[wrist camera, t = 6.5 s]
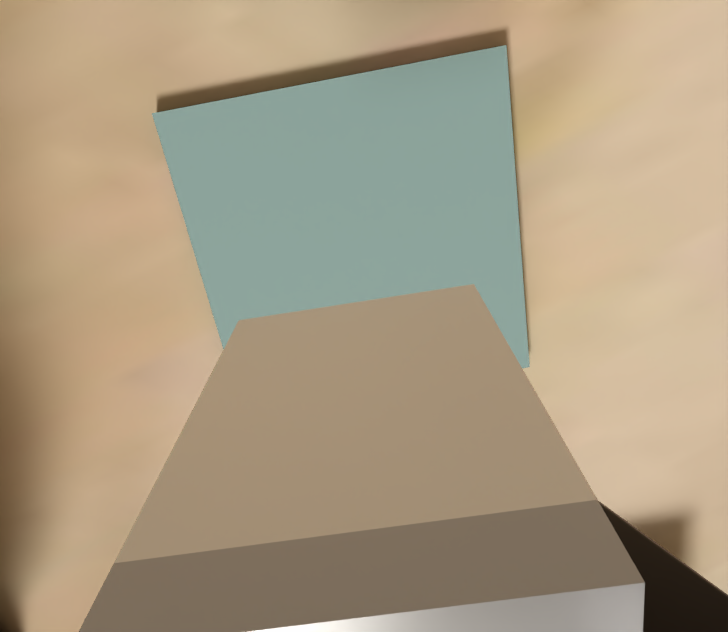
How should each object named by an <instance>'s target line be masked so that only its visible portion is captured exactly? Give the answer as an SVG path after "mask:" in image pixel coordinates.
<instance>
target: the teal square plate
mask: <svg viewBox="0 0 728 632" xmlns="http://www.w3.org/2000/svg"><path fill="white" fill-rule="evenodd" d="M152 115H153V118H154V122H155V125H156V128H157V132H158V135H159V138H160V141H161V145H162V148H163V151H164V155H165V158H166V161H167V164H168V168H169V171H170V174H171V178H172V181H173V184H174V188H175V191H176V194H177V197H178V201H179V204H180V207H181V211H182V214H183V217H184V220H185V224H186V227H187V230H188V234H189V237H190V240H191V244H192V247H193V250H194V253H195V257H196V260H197V263H198V267H199V270H200V273H201V276H202V280H203V283H204V286H205V290H206V293H207V296H208V300H209V303H210V306H211V309H212V313H213V316H214V319H215V323H216V326H217V329H218V332H219V336H220V339H221V342H222V346H223V349H224V348H225V346H226V344H227V342H228V340H229V338H230V336H231V334H232V332H233V330H234V328H235V327H236V325H237V323H238V321H239V320H244V319H250V318H257V317H263V316H270V315H276V314H283V313H289V312H296V311H302V310H309V309H315V308H322V307H328V306H335V305H341V304H347V303H354V302H360V301H367V300H373V299H380V298H386V297H393V296H399V295H406V294H412V293H419V292H425V291H432V290H438V289H445V288H451V287H458V286H464V285H471V284H474V285H475V287H476V289H477V291H478V292H479V294H480V296H481V298H482V299H483V301H484V303H485V305H486V306H487V308H488V310H489V311H490V313H491V315H492V317H493V318H494V320H495V322H496V324H497V325H498V327H499V329H500V331H501V332H502V334H503V336H504V338H505V339H506V341H507V343H508V345H509V346H510V348H511V350H512V352H513V353H514V355H515V357H516V359H517V360H518V362H519V364H520V366H521V367H522V368H527V367H529V353H528V339H527V325H526V311H525V298H524V284H523V270H522V256H521V242H520V228H519V214H518V200H517V186H516V172H515V158H514V144H513V130H512V116H511V102H510V88H509V75H508V61H507V47H506V45H504V46H499V47H493V48H488V49H483V50H478V51H473V52H468V53H462V54H457V55H452V56H447V57H442V58H437V59H431V60H426V61H421V62H416V63H411V64H406V65H400V66H395V67H390V68H385V69H380V70H374V71H369V72H364V73H359V74H354V75H349V76H343V77H338V78H333V79H328V80H323V81H318V82H312V83H307V84H302V85H297V86H292V87H286V88H281V89H276V90H271V91H266V92H261V93H255V94H250V95H245V96H240V97H235V98H230V99H224V100H219V101H214V102H209V103H204V104H199V105H193V106H188V107H183V108H178V109H173V110H167V111H162V112H157V113H152Z"/></svg>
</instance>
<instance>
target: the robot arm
mask: <svg viewBox="0 0 728 632" xmlns="http://www.w3.org/2000/svg"><path fill="white" fill-rule="evenodd" d="M598 502H599V501H598ZM599 503H600V505H601V507H602V509H603V510H604V512H605V514H606V516H607V517H608V519H609V521H610V523H611V524H612V526H613V528H614V529H615V531H616V533H617V535H618V536H619V538H620V540H621V542H622V543H623V545H624V547H625V549H626V550H627V552H628V554H629V556H630V557H631V559H632V561H633V563H634V564H635V566H636V568H637V570H638V571H639V573H640V575H641V577H642V578H643V580H644V582H645V595H644V618H643V632H728V595H727V594H726V593H724V592H723V591H722V590H720V589H719V588H718V587H716V586H715V585H713V584H712V583H711V582H709V581H708V580H707V579H705V578H704V577H702V576H701V575H700V574H698V573H697V572H696V571H694V570H693V569H691V568H690V567H689V566H687V565H686V564H685V563H683V562H682V561H680V560H679V559H678V558H676V557H675V556H674V555H672V554H671V553H669V552H668V551H667V550H665V549H664V548H663V547H661V546H660V545H658V544H657V543H656V542H654V541H653V540H652V539H650V538H649V537H647V536H646V535H645V534H643V533H642V532H640V531H639V530H638V529H636V528H635V527H634V526H632V525H631V524H629V523H628V522H627V521H625V520H624V519H623V518H621V517H620V516H618V515H617V514H616V513H614V512H613V511H612V510H610V509H609V508H607V507H606V506H605V505H603V504H602V503H601V502H599Z"/></svg>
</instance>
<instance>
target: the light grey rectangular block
mask: <svg viewBox="0 0 728 632" xmlns="http://www.w3.org/2000/svg"><path fill="white" fill-rule="evenodd" d="M644 595H645V582H644V580H643V578H642V577H641V575H640V573H639V571H638V570H637V568H636V566H635V564H634V563H633V561H632V559H631V557H630V556H629V554H628V552H627V550H626V549H625V547H624V545H623V543H622V542H621V540H620V538H619V536H618V535H617V533H616V531H615V529H614V528H613V526H612V524H611V523H610V521H609V519H608V517H607V516H606V514H605V512H604V510H603V509H602V507H601V505H600V503H599V502H598V500H597V498H596V496H595V495H594V493H593V491H592V489H591V488H590V486H589V484H588V482H587V481H586V479H585V477H584V475H583V474H582V472H581V470H580V468H579V467H578V465H577V463H576V461H575V460H574V458H573V456H572V454H571V453H570V451H569V449H568V448H567V446H566V444H565V442H564V441H563V439H562V437H561V435H560V434H559V432H558V430H557V428H556V427H555V425H554V423H553V421H552V420H551V418H550V416H549V414H548V413H547V411H546V409H545V407H544V406H543V404H542V402H541V400H540V399H539V397H538V395H537V393H536V392H535V390H534V388H533V386H532V385H531V383H530V381H529V379H528V378H527V376H526V374H525V373H524V371H523V369H522V367H521V366H520V364H519V362H518V360H517V359H516V357H515V355H514V353H513V352H512V350H511V348H510V346H509V345H508V343H507V341H506V339H505V338H504V336H503V334H502V332H501V331H500V329H499V327H498V325H497V324H496V322H495V320H494V318H493V317H492V315H491V313H490V311H489V310H488V308H487V306H486V305H485V303H484V301H483V299H482V298H481V296H480V294H479V292H478V291H477V289H476V287H475V285H474V284H471V285H464V286H458V287H451V288H445V289H438V290H432V291H425V292H419V293H412V294H406V295H399V296H393V297H386V298H380V299H373V300H367V301H360V302H354V303H347V304H341V305H335V306H328V307H322V308H315V309H309V310H302V311H296V312H289V313H283V314H276V315H270V316H263V317H257V318H250V319H244V320H239V321H238V323H237V325H236V327H235V328H234V330H233V332H232V334H231V336H230V338H229V340H228V342H227V344H226V346H225V348H224V350H223V352H222V354H221V356H220V358H219V360H218V362H217V364H216V366H215V367H214V369H213V371H212V373H211V375H210V377H209V379H208V381H207V383H206V385H205V387H204V389H203V391H202V393H201V395H200V397H199V399H198V401H197V403H196V404H195V406H194V408H193V410H192V412H191V414H190V416H189V418H188V420H187V422H186V424H185V426H184V428H183V430H182V432H181V434H180V436H179V438H178V440H177V442H176V443H175V445H174V447H173V449H172V451H171V453H170V455H169V457H168V459H167V461H166V463H165V465H164V467H163V469H162V471H161V473H160V475H159V477H158V479H157V480H156V482H155V484H154V486H153V488H152V490H151V492H150V494H149V496H148V498H147V500H146V502H145V504H144V506H143V508H142V510H141V512H140V514H139V516H138V517H137V519H136V521H135V523H134V525H133V527H132V529H131V531H130V533H129V535H128V537H127V539H126V541H125V543H124V545H123V547H122V549H121V551H120V553H119V555H118V556H117V558H116V560H115V562H114V564H113V566H112V568H111V570H110V572H109V574H108V576H107V578H106V580H105V582H104V584H103V586H102V588H101V590H100V592H99V593H98V595H97V597H96V599H95V601H94V603H93V605H92V607H91V609H90V611H89V613H88V615H87V617H86V619H85V621H84V623H83V625H82V627H81V629H80V630H79V632H643V618H644Z"/></svg>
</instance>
